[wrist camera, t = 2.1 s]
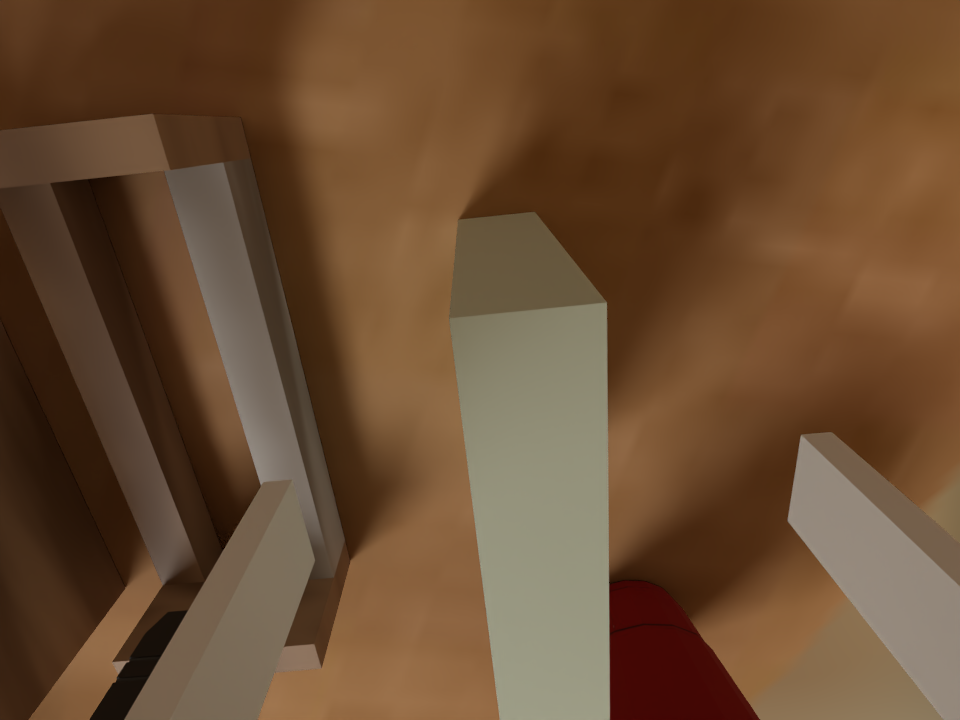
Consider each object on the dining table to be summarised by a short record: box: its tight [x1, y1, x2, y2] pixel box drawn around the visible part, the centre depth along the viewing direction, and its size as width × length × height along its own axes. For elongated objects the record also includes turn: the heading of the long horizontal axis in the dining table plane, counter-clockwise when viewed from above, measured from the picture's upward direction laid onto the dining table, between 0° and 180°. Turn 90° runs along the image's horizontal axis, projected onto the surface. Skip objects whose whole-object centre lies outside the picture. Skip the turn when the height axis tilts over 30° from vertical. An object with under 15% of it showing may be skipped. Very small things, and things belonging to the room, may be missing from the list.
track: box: [0, 114, 350, 720], centre depth 20 cm, size 13×22×8 cm, turn 5°
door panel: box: [449, 212, 610, 720], centre depth 18 cm, size 3×12×12 cm, turn 6°
